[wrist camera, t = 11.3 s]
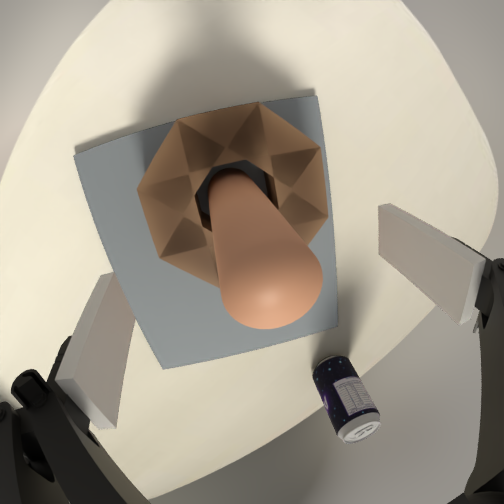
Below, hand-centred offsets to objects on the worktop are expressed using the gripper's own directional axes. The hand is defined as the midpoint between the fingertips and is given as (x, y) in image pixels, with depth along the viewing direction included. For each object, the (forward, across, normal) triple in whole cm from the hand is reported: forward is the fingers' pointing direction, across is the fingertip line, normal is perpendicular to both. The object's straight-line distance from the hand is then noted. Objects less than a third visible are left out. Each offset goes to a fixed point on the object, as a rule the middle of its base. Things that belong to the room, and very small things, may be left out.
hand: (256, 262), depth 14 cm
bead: (+13, 0, 0) cm, 13 cm away
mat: (+14, -1, -6) cm, 15 cm away
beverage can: (+14, +9, -27) cm, 31 cm away
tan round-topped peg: (+13, 0, 0) cm, 13 cm away
